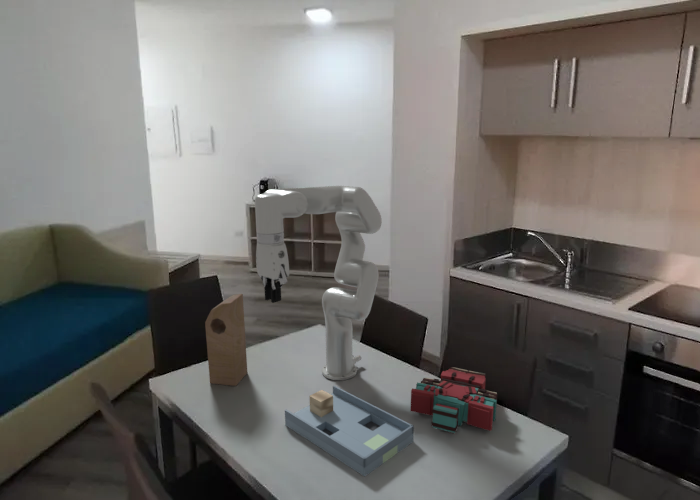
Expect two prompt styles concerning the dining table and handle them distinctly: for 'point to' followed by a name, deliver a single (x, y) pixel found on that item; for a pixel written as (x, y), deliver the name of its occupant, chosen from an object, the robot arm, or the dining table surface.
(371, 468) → the trap board
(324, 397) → the oak block
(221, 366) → the decorative block
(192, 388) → the dining table surface
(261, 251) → the robot arm
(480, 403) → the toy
